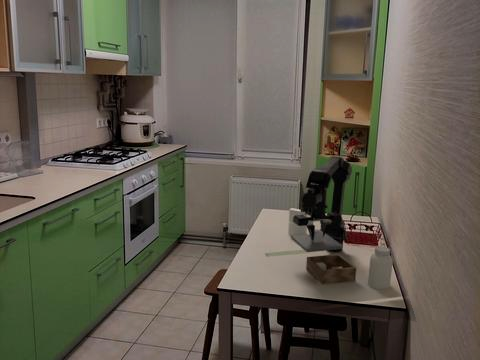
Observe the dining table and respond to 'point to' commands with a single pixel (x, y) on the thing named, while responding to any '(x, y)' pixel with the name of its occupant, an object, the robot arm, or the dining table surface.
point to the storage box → (330, 274)
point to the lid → (316, 242)
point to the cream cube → (321, 265)
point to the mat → (286, 253)
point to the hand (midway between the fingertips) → (316, 239)
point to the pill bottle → (380, 268)
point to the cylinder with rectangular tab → (294, 228)
